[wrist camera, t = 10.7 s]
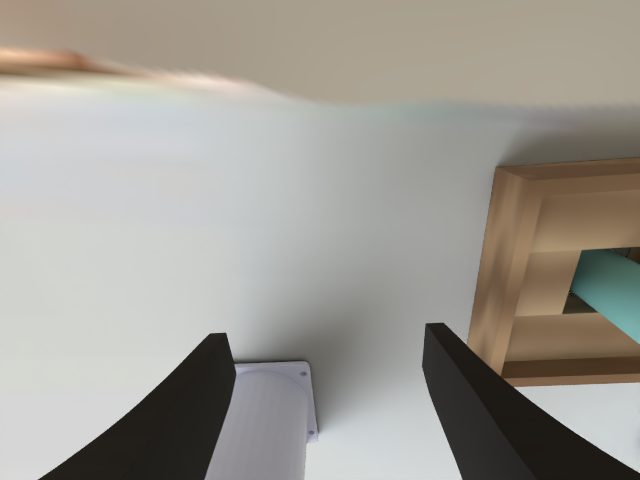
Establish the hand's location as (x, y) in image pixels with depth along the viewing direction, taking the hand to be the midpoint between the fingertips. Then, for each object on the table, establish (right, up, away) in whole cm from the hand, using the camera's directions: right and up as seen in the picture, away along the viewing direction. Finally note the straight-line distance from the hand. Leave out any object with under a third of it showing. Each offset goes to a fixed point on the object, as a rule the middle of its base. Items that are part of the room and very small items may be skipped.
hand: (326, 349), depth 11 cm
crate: (+17, +2, +9) cm, 20 cm away
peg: (+17, +2, +9) cm, 20 cm away
